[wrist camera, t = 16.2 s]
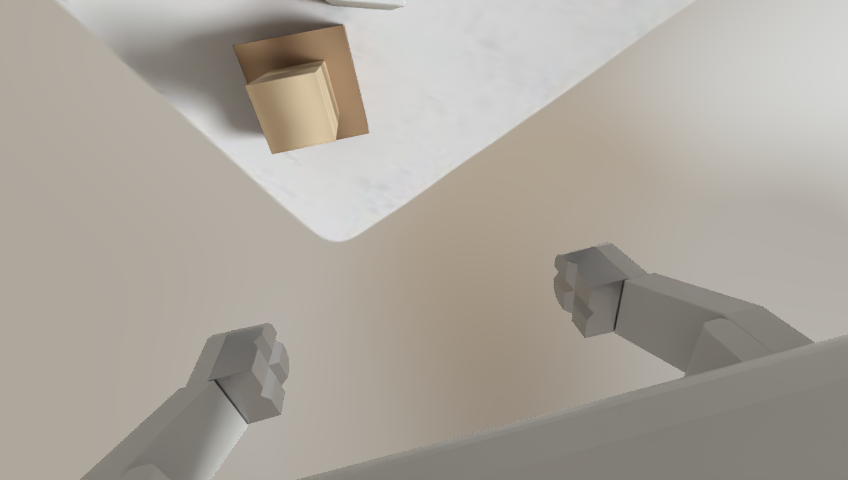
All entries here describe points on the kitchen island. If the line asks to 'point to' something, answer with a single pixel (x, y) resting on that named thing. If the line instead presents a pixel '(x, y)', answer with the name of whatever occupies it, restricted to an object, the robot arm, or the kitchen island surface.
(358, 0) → the small box
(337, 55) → the walnut block
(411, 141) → the kitchen island surface
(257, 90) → the oak block
